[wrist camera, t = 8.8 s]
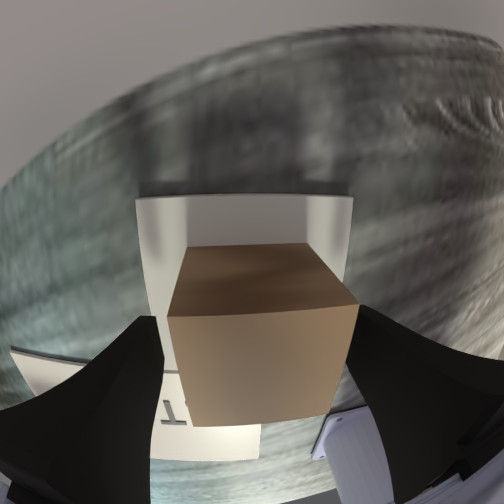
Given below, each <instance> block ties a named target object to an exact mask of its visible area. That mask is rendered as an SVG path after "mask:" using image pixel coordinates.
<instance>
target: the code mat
mask: <svg viewBox="0 0 504 504" xmlns="http://www.w3.org/2000/svg"><path fill="white" fill-rule="evenodd" d="M10 354H11V356H12V358H13V359H14V361H15V363H16V365H17V367H18V368H19V370H20V372H21V374H22V375H23V377H24V379H25V380H26V382H27V384H28V385H29V387H30V388H31V390H32V391H33V393H34V394H35V396H36V397H37V396H39V395H41V394H43V393H44V392H46V391H48V390H50V389H51V388H53V387H55V386H56V385H58V384H60V383H62V382H63V381H65V380H66V379H68V378H69V377H71V376H72V375H74V374H75V373H76V372H78V371H79V370H80V369H82V368H83V367H84V366H86V365H87V364H85V363H78V362H71V361H65V360H59V359H53V358H48V357H42V356H37V355H33V354H28V353H24V352H19V351H15V350H11V351H10ZM260 431H261V424H254V425H242V426H223V427H193V424H192V421H191V418H190V414H189V411H188V407H187V403H186V400H185V396H184V392H183V389H182V385H181V381H180V377H179V373H178V370H164V374H163V382H162V387H161V392H160V396H159V401H158V405H157V410H156V415H155V420H154V425H153V430H152V437H151V449H150V458H156V459H168V460H185V461H229V460H247V459H258V456H259V444H260Z"/></svg>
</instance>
